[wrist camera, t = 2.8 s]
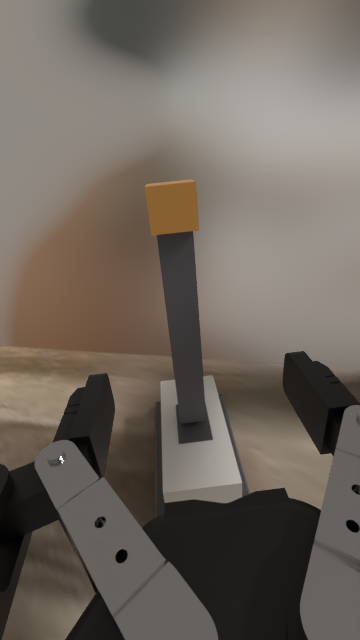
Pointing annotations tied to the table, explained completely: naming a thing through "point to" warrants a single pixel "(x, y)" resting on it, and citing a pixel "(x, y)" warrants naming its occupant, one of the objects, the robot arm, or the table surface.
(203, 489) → the breaker base
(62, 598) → the table surface
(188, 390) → the lever
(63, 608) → the table surface
